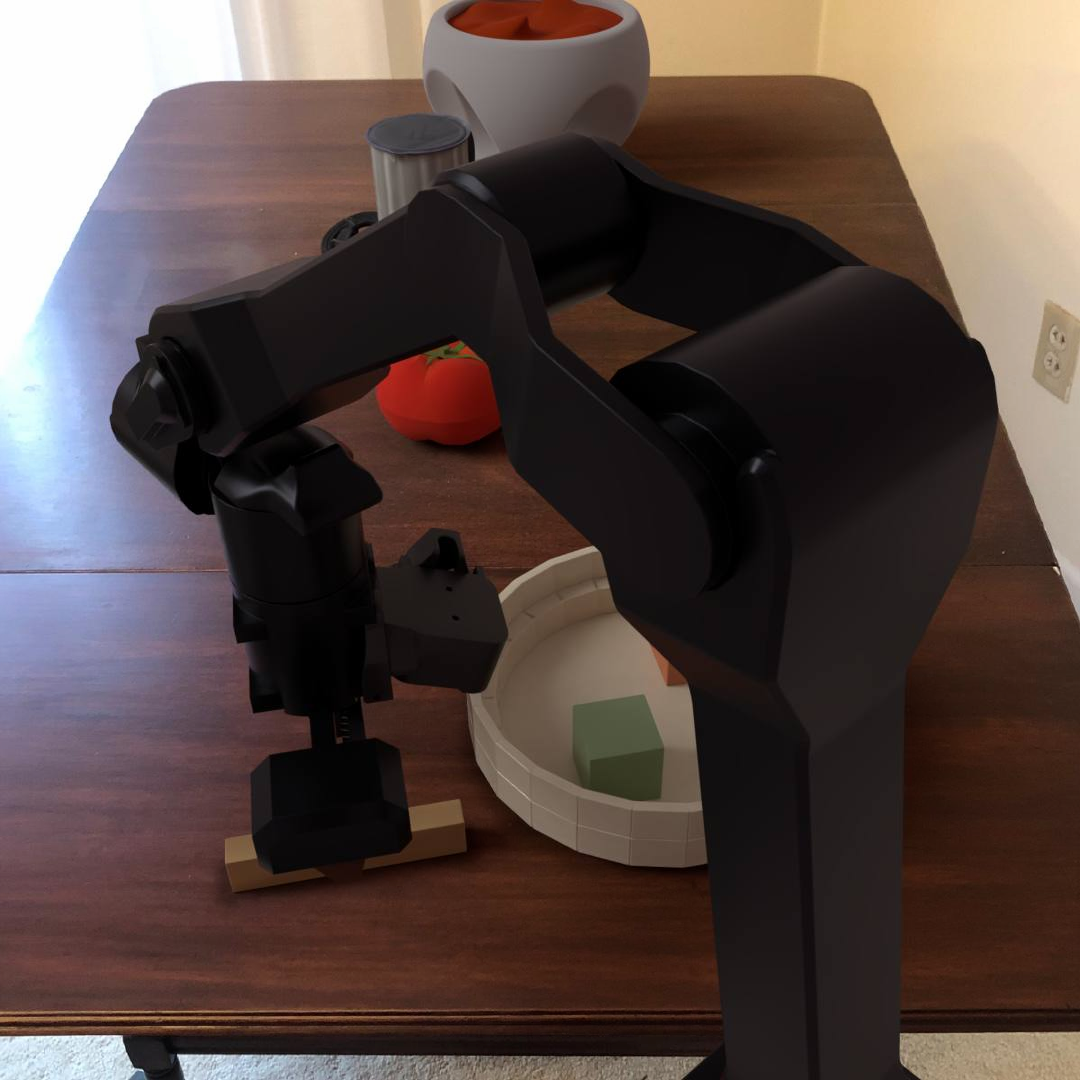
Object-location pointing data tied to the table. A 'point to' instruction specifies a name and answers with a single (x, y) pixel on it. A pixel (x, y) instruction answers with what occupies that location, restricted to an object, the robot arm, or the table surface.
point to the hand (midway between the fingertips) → (341, 803)
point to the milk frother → (406, 164)
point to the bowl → (547, 719)
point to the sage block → (618, 748)
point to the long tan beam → (432, 837)
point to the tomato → (440, 396)
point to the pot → (537, 69)
